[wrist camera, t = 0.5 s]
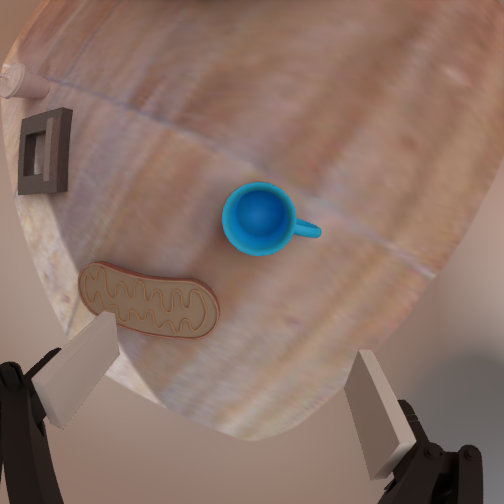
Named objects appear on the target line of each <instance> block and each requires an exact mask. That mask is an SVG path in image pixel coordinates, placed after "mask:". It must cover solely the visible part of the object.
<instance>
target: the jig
mask: <svg viewBox="0 0 504 504" xmlns="http://www.w3.org/2000/svg"><path fill="white" fill-rule="evenodd" d="M72 112H73V110H70V109H66V108H63V107H62V108H58V109H55V110H51V111H47V112H44V113H41V114H37V115H34V116H31V117H28V118H25V119H22V125H21V134H20V145H19V160H18V195H28V194H41V193H57V192H65V191H68V156H69V141H70V130H71V121H72ZM42 134H46V138H45V150H44V171H43V174H38V175H34V160H35V145H36V136H38V135H42Z"/></svg>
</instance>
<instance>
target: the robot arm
mask: <svg viewBox="0 0 504 504" xmlns="http://www.w3.org/2000/svg"><path fill="white" fill-rule="evenodd" d="M119 354H120V353H119V346H118V337H117V328H116V317H115V314H114V313H110V312H106V311H103V312H102V313H101V314H100V315H99V316H97V317H96V318H95V319H94V320H93V321H92V322H91V323H90V324H89V325H87V326H86V327H85V328H84V329H83V330H82V331H81V332H80V333H79V334H78V335H77V336H75V337H74V338H73V339H72V340H71V341H70V342H69V343H68V344H67V345H66V346H65V347H64V348H63V349H61V348H56V349H54V350H51V351H49V352H48V353H47V354H46V355H45V356H44V358H42V359H41V360H40V361H39V363H36V365H34V366H33V367H32V368H31V369H30V370H29V371H28V372H27V373H26V374H25V375H23V372H22V370H21V367H20V366H19V365H18V363H15V362H5V363H3V364H1V365H0V482H1V473H2V464H4V472H5V480H6V486H7V492H8V497H9V502H10V504H64V503H63V499H62V496H61V493H60V490H59V487H58V483H57V480H56V476H55V472H54V469H53V464H52V460H51V455H50V451H49V446H48V441H47V435H46V429H45V424H44V421H43V419H44V418H45V416H46V415H47V417H48V419H49V421H50V423H51V424H53V425H54V426H57V427H58V428H60V429H62V430H64V428H65V427H66V425H67V424H68V423H69V421H70V420H71V418H72V417H73V416H74V414H75V413H76V411H77V410H78V409H79V407H80V406H81V405H82V403H83V402H84V401H85V399H86V398H87V397H88V395H89V394H90V392H91V391H92V390H93V388H94V387H95V386H96V384H97V383H98V382H99V381H100V379H101V378H102V376H103V375H104V374H105V373H106V371H107V370H108V369H109V367H110V366H111V365H112V364H113V362H114V361H115V360H116V358H117V357H118V356H119ZM344 389H345V393H346V396H347V399H348V402H349V406H350V409H351V412H352V416H353V419H354V422H355V426H356V429H357V433H358V436H359V440H360V443H361V447H362V450H363V454H364V458H365V461H366V465H367V469H368V473H369V476H370V480H371V481H372V480H379V479H385V478H387V477H388V476H389V474H390V473H391V472H392V471H393V474H394V479H393V480H392V481H391V482H390V483H389V484H388V485H387V486H386V487H385V488H384V490H386V491H385V492H384V494H383V496H382V497H381V499H380V500H379V502H378V504H483V468H482V456H481V452H480V451H479V450H478V448H476V447H475V446H473V445H464V446H462V447H461V449H460V450H459V451H458V452H445V451H443V449H442V448H441V447H440V446H439V445H437V444H436V443H431V442H429V440H428V438H427V436H426V434H425V432H424V430H423V428H422V426H421V424H420V422H419V421H418V418H417V416H416V415H415V412H414V411H413V408H412V407H411V405H410V404H408V403H407V402H406V401H405V400H397V399H396V397H395V395H394V393H393V391H392V389H391V387H390V385H389V383H388V381H387V379H386V377H385V375H384V374H383V372H382V369H381V368H380V366H379V364H378V362H377V360H376V358H375V356H374V354H373V352H372V351H371V350H358V352H357V355H356V358H355V361H354V364H353V366H352V369H351V372H350V374H349V377H348V379H347V382H346V384H345V387H344Z"/></svg>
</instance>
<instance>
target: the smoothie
mask: <svg viewBox="0 0 504 504" xmlns="http://www.w3.org/2000/svg"><path fill="white" fill-rule="evenodd" d="M0 77H1V78H3V79H2V81H1V85H0V95H1V97H2V98H6V99H9V98H11V97H21V98H40V99H41V98H44V97H45V96H46V95H47V93H48V92H49V89H50V82H49V81H48V80H46V79H44V78H43V77H41V76H39V75H37V74H36V73H34V72H32V71H30V70H29V69H27V68H25V67H24V65H23V64H20V63H15V64H13V65H12V66H11V67H10V68H9V69H8V70H7V71H6V73H5V74H4V75H3V74H0Z"/></svg>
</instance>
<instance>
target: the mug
mask: <svg viewBox="0 0 504 504" xmlns="http://www.w3.org/2000/svg"><path fill="white" fill-rule="evenodd" d="M222 225H223V230H224V233H225V235H226V237H227V238H228V240H229V242H230V243H231V244H232V245H233V246H235V247H236V248H237V249H238V250H239V251H242V252H244V253H246V254H248V255H255V256H264V255H270V254H273V253H275V252H277V251H278V250H280V249H282V248H283V247H284V246H285V245H286V244H287V243H288V242H289V241H290V239H291V237H292V235H293V234H296V235H300V236H304V237H310V238H318V237H319V236H320V235H321V229H320V228H319V227H318V226H316V225H314V224H311V223H309V222H306V221H303V220H300V219H297V218H296V213H295V208H294V205H293V204H292V202H291V200H290V198H289V196H287V195H286V194H285V193H284V192H283V191H282V190H281V189H280V188H278V187H276V186H274V185H272V184H270V183H264V182H255V183H250V184H246V185H244V186H242V187H240V188H238V189H237V190H235V191H234V192H233V193H232V195H231V196H230V197H229V198H228V199H227V201H226V203H225V206H224V208H223V212H222Z"/></svg>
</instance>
